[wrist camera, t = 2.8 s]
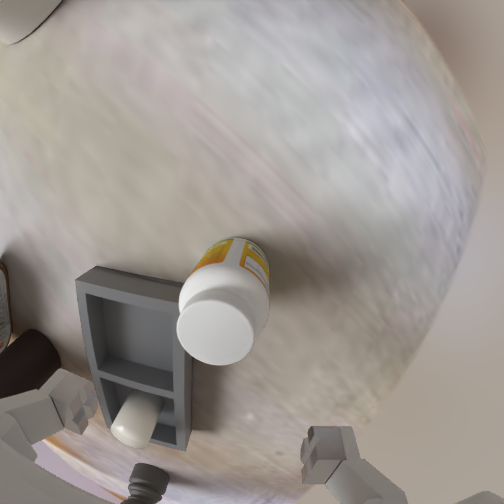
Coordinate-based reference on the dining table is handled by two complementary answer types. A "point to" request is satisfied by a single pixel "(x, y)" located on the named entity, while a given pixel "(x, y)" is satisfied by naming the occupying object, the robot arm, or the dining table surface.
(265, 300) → the supplement bottle
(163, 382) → the caddy
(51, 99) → the dining table surface
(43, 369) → the vinegar
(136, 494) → the candle holder
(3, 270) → the tin
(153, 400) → the shaker
